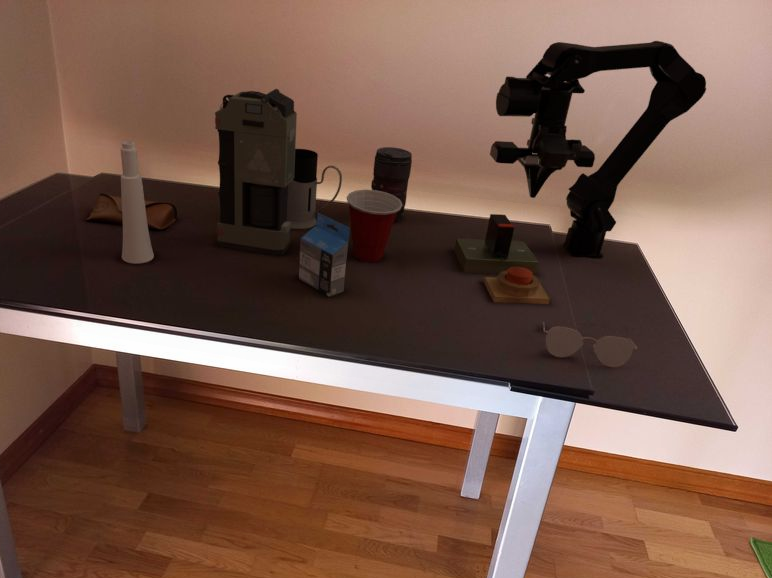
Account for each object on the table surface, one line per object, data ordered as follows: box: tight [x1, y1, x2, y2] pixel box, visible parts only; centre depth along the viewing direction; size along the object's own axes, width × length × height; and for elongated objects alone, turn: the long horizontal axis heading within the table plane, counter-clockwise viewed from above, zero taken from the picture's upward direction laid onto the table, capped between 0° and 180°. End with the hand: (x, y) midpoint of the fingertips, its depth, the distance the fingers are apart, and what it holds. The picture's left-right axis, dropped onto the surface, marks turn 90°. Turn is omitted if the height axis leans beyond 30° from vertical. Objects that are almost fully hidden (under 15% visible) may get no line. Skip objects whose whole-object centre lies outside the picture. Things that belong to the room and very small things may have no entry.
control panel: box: [453, 238, 539, 276], centre depth 138 cm, size 14×11×3 cm
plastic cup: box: [346, 189, 403, 263], centre depth 136 cm, size 11×11×12 cm
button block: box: [483, 270, 551, 305], centre depth 128 cm, size 10×8×3 cm
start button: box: [506, 267, 534, 285], centre depth 126 cm, size 4×4×2 cm
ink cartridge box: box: [298, 212, 351, 297], centre depth 124 cm, size 9×4×12 cm, turn 40°
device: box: [214, 88, 298, 256], centre depth 133 cm, size 14×8×30 cm, turn 74°
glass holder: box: [287, 148, 343, 230], centre depth 149 cm, size 9×14×15 cm, turn 64°
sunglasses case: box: [85, 192, 178, 231], centre depth 149 cm, size 18×7×7 cm, turn 78°
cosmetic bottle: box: [120, 140, 155, 265], centre depth 128 cm, size 6×6×22 cm
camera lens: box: [370, 146, 413, 223], centre depth 154 cm, size 8×8×15 cm
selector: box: [484, 213, 515, 257], centre depth 136 cm, size 7×3×6 cm, turn 0°
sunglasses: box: [542, 322, 638, 368], centre depth 112 cm, size 14×8×5 cm, turn 73°
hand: (532, 197), depth 138 cm, fingers closed
